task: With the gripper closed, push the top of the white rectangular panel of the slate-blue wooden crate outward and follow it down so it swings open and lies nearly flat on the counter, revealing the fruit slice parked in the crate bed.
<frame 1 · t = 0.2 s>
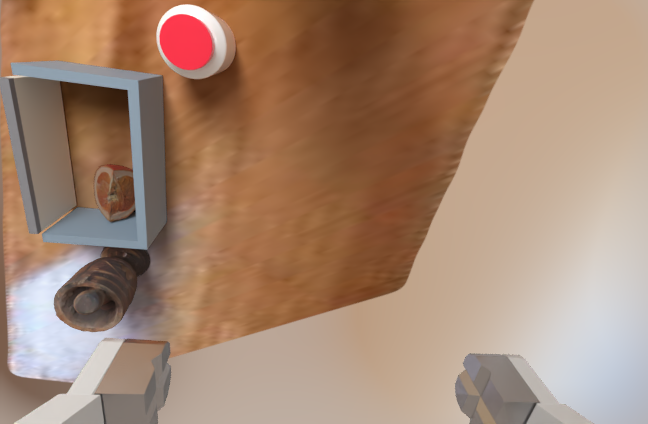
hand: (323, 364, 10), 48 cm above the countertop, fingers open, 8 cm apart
fruit slice: (124, 184, 56), on the countertop
mortar and pestle: (129, 249, 60), on the countertop
white rectangular panel: (44, 152, 48), point 5 cm above the countertop, hinge at 0.0°
pill bottle: (207, 44, 49), on the countertop
crate: (113, 148, 53), on the countertop
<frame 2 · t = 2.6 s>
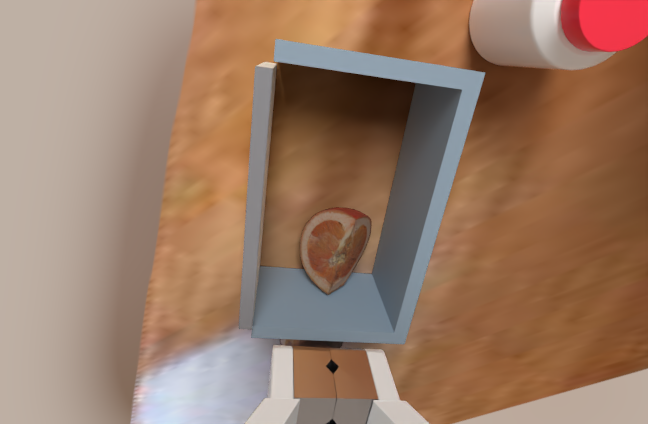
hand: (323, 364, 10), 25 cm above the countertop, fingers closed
fruit slice: (332, 231, 37), on the countertop
mortar and pestle: (317, 321, 41), on the countertop
white rectangular panel: (258, 193, 29), point 5 cm above the countertop, hinge at 0.0°
pill bottle: (512, 15, 30), on the countertop
crate: (331, 181, 34), on the countertop
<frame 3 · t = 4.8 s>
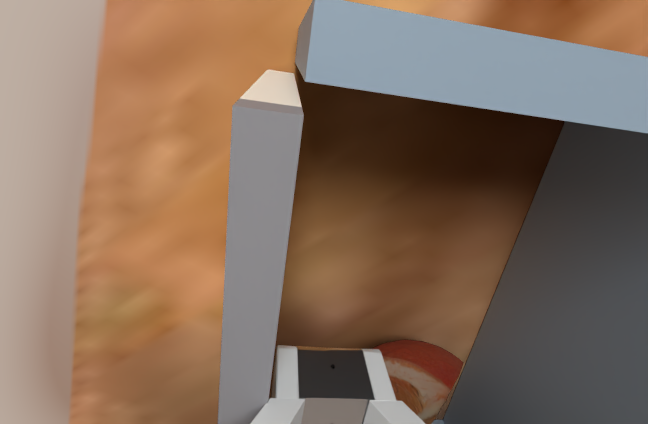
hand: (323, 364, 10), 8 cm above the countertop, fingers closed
fruit slice: (382, 362, 21), on the countertop
white rectangular panel: (252, 356, 13), point 5 cm above the countertop, hinge at 0.0°, touching gripper
crate: (387, 286, 19), on the countertop
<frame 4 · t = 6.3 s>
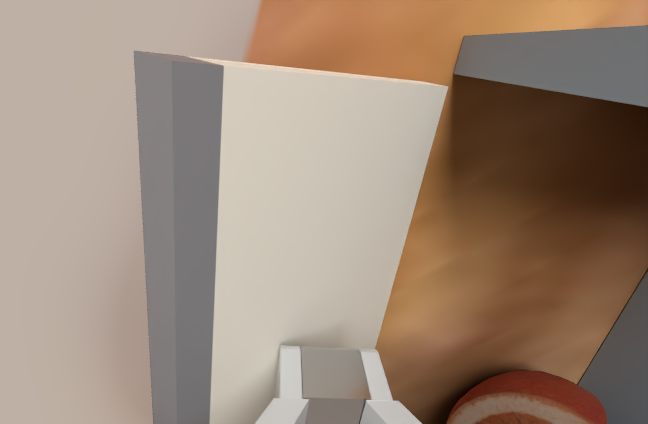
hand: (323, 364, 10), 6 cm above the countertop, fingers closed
fruit slice: (486, 389, 20), on the countertop
white rectangular panel: (300, 372, 12), point 4 cm above the countertop, hinge at 44.3°, touching gripper
crate: (508, 313, 17), on the countertop
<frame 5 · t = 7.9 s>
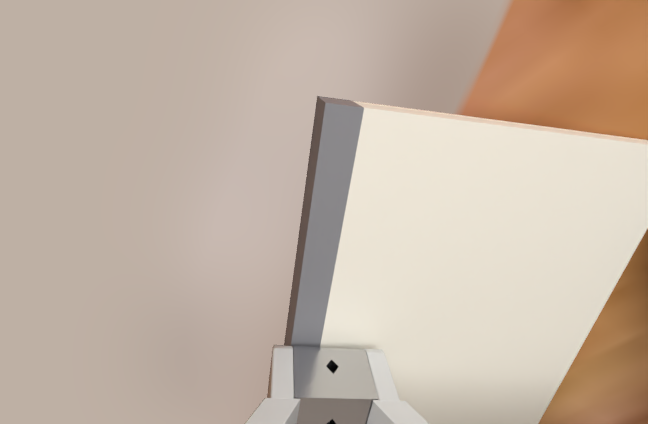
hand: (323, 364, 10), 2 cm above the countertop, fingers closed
white rectangular panel: (417, 405, 12), point 1 cm above the countertop, hinge at 84.9°
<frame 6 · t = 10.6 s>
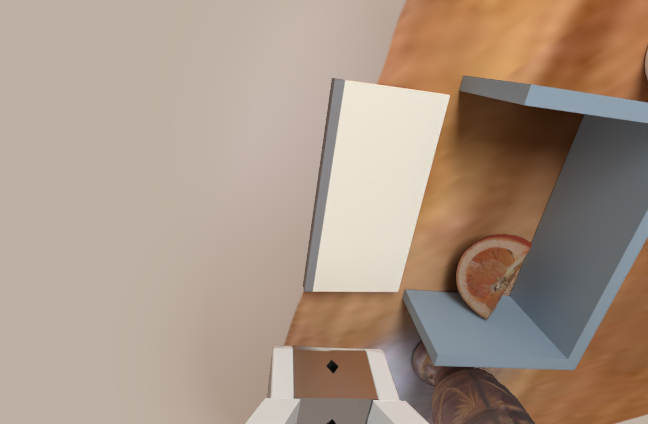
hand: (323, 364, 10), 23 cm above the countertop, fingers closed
fruit slice: (478, 255, 37), on the countertop
mortar and pestle: (448, 341, 42), on the countertop
white rectangular panel: (369, 199, 32), point 1 cm above the countertop, hinge at 84.9°
crate: (487, 207, 35), on the countertop
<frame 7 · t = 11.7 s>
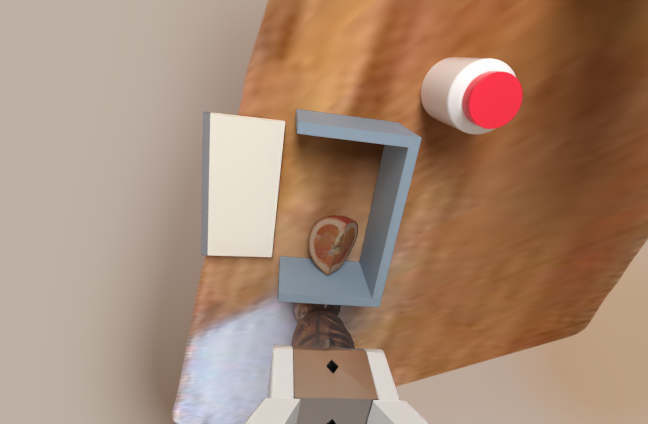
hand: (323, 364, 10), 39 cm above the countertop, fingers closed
fruit slice: (331, 232, 53), on the countertop
mortar and pestle: (320, 297, 57), on the countertop
white rectangular panel: (241, 191, 47), point 1 cm above the countertop, hinge at 84.9°
pill bottle: (449, 90, 46), on the countertop
crate: (330, 197, 50), on the countertop
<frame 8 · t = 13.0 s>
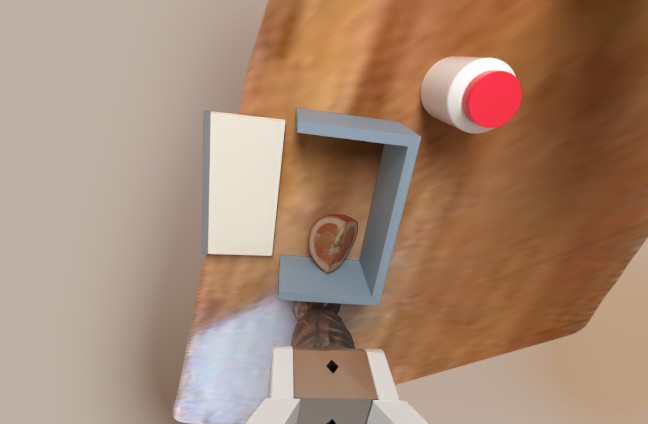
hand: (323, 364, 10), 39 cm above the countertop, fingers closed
fruit slice: (331, 230, 53), on the countertop
mortar and pestle: (320, 295, 57), on the countertop
white rectangular panel: (241, 189, 48), point 1 cm above the countertop, hinge at 84.9°
pill bottle: (449, 89, 46), on the countertop
crate: (330, 196, 50), on the countertop
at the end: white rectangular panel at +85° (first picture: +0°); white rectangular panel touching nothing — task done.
